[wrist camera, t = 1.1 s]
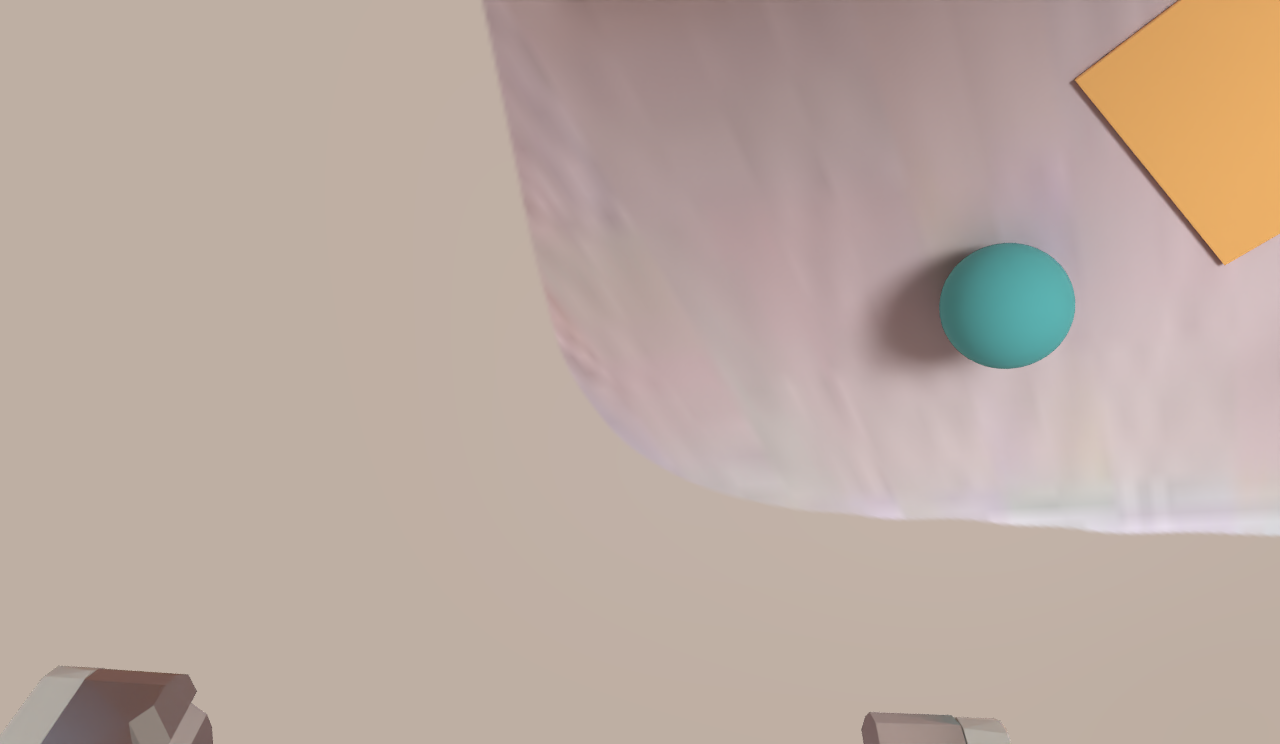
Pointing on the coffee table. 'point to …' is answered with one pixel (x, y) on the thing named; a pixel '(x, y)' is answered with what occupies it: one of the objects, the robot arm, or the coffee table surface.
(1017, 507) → the coffee table surface
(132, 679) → the robot arm
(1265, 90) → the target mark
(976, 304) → the ball
